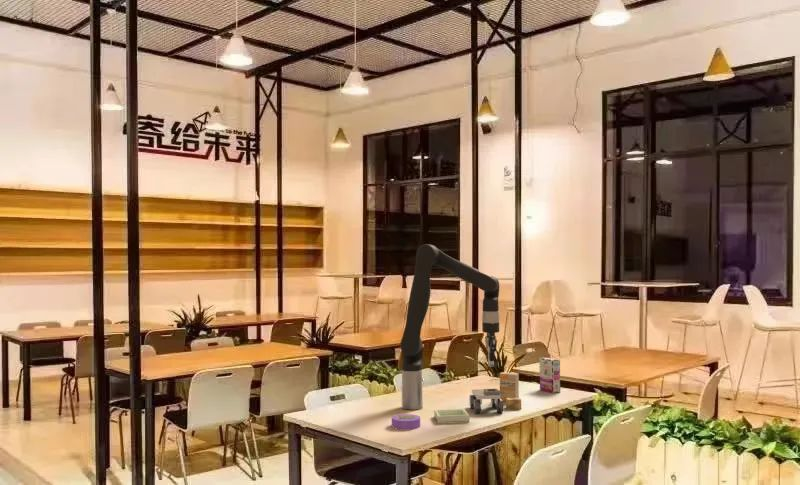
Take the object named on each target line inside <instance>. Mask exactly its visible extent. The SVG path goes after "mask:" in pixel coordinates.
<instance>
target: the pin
mask: <svg viewBox="0 0 800 485" xmlns="http://www.w3.org/2000/svg"><path fill="white" fill-rule="evenodd" d="M487 346H488V344H487ZM492 349H493V348H492ZM487 360H488V362H487V363H488V367H489V368H490V367H491V368H493V367H495V360H494V361H489V347H488V351H487Z"/></svg>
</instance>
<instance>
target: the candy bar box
mask: <svg viewBox="0 0 800 485" xmlns="http://www.w3.org/2000/svg"><path fill="white" fill-rule="evenodd" d="M538 360H539V361H538V362H539V390H540V391H544V392H548V393H552V394H558V393H561V360H560V359H558V358H551V357H539V359H538Z"/></svg>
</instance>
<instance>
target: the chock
mask: <svg viewBox="0 0 800 485" xmlns="http://www.w3.org/2000/svg"><path fill="white" fill-rule="evenodd" d="M505 409H506V410H508V411H509V410H510V411H511V410H512V411H513V410H522V399H521V398H520V397H519V398H506V401H505Z"/></svg>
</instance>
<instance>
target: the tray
mask: <svg viewBox="0 0 800 485" xmlns="http://www.w3.org/2000/svg"><path fill="white" fill-rule="evenodd" d="M433 413H434V414H433V417H434V419H435V421H436V422H437V424H439V425H440V424H465V423H466V424H467V423H468V424H469V423H470V415H469V413H468V412H467V411H466V409H465V408H451V409H434V410H433Z"/></svg>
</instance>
